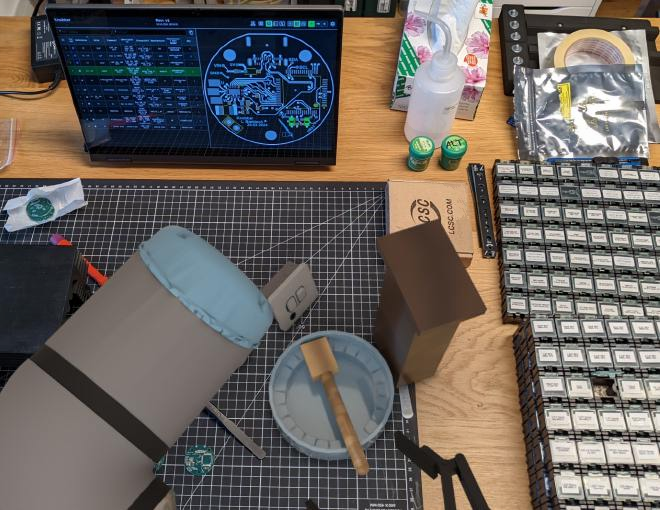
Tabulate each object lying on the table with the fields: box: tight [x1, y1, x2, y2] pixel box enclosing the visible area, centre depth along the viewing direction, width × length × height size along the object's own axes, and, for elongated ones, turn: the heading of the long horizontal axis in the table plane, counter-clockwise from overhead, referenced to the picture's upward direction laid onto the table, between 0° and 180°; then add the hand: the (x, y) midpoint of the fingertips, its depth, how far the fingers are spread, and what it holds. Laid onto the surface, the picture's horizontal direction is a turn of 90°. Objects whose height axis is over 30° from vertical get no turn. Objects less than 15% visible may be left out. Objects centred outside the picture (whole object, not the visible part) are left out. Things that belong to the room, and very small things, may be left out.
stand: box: [372, 218, 488, 390], centre depth 91 cm, size 9×14×30 cm, turn 20°
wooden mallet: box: [300, 337, 370, 476], centre depth 94 cm, size 4×22×2 cm, turn 20°
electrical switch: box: [259, 260, 320, 332], centre depth 105 cm, size 9×5×9 cm, turn 141°
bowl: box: [268, 329, 395, 461], centre depth 98 cm, size 19×19×6 cm
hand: (354, 471), depth 73 cm, fingers open, 13 cm apart
